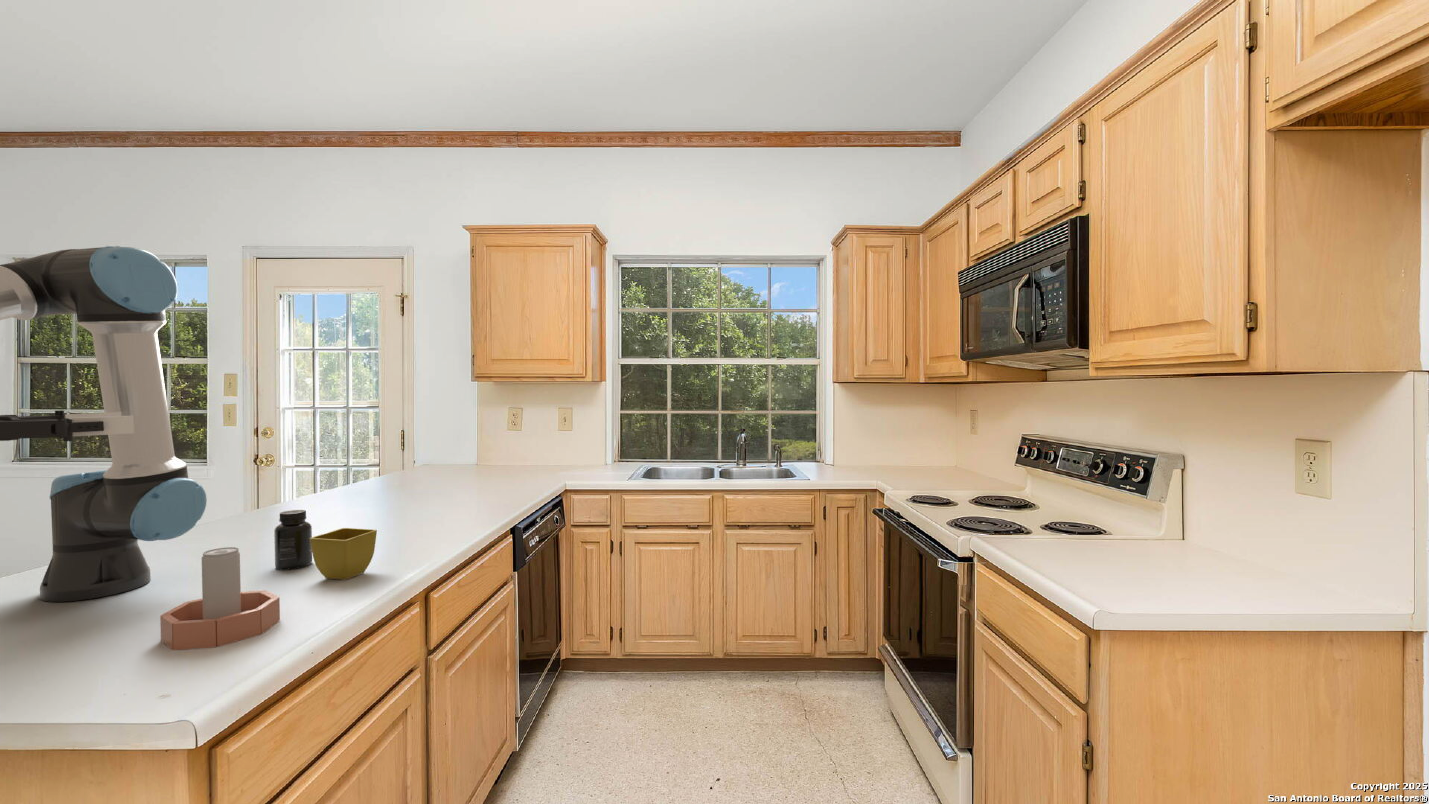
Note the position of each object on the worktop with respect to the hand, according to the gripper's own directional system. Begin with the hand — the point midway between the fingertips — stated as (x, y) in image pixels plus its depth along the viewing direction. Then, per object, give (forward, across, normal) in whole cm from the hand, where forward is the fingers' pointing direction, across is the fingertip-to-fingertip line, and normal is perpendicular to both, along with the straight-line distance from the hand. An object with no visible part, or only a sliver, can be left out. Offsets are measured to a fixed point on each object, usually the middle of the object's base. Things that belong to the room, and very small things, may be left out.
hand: (127, 422), depth 99 cm
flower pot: (+32, -3, -34) cm, 47 cm away
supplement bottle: (+28, -20, -34) cm, 48 cm away
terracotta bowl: (+9, +13, -34) cm, 37 cm away
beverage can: (+9, +13, -33) cm, 36 cm away
